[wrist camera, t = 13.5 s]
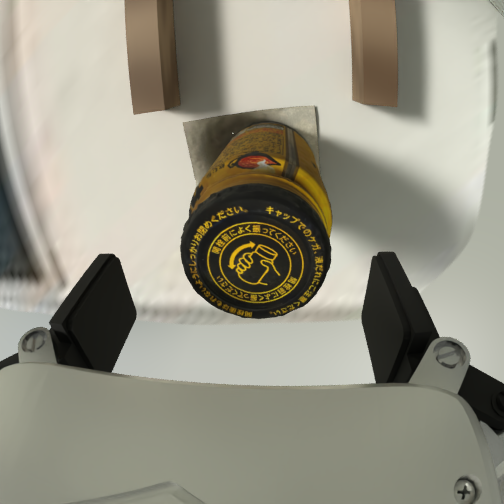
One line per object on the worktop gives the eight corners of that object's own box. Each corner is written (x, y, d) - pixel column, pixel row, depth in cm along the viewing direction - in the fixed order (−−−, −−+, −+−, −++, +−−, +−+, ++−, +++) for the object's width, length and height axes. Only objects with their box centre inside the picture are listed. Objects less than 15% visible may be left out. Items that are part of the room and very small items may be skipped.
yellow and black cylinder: (322, 209, 22) (350, 333, 12) (204, 220, 24) (147, 340, 13) (314, 105, 19) (353, 142, 8) (184, 121, 20) (86, 179, 10)
